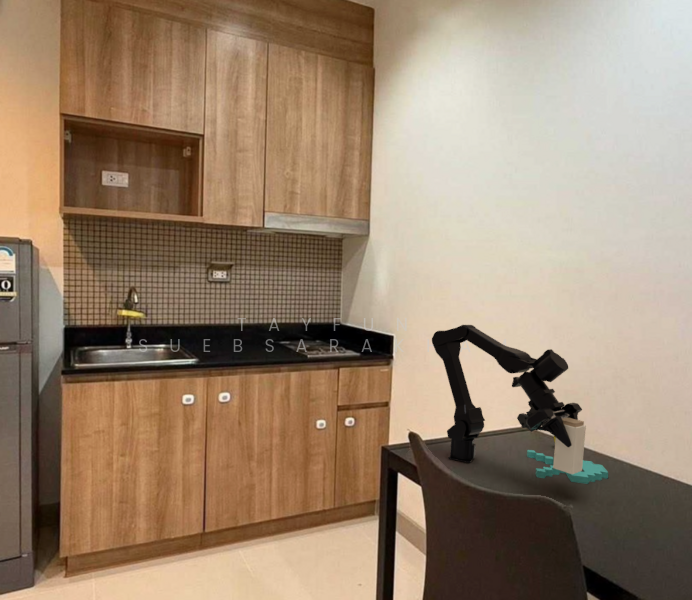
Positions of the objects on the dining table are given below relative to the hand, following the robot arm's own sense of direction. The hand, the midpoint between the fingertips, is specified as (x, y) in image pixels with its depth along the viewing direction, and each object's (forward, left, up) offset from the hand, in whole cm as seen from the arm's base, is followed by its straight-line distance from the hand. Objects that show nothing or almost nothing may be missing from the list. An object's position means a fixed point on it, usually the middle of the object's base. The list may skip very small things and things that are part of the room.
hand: (575, 444), depth 132 cm
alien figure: (-2, +23, -14) cm, 27 cm away
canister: (-1, +1, -7) cm, 7 cm away
